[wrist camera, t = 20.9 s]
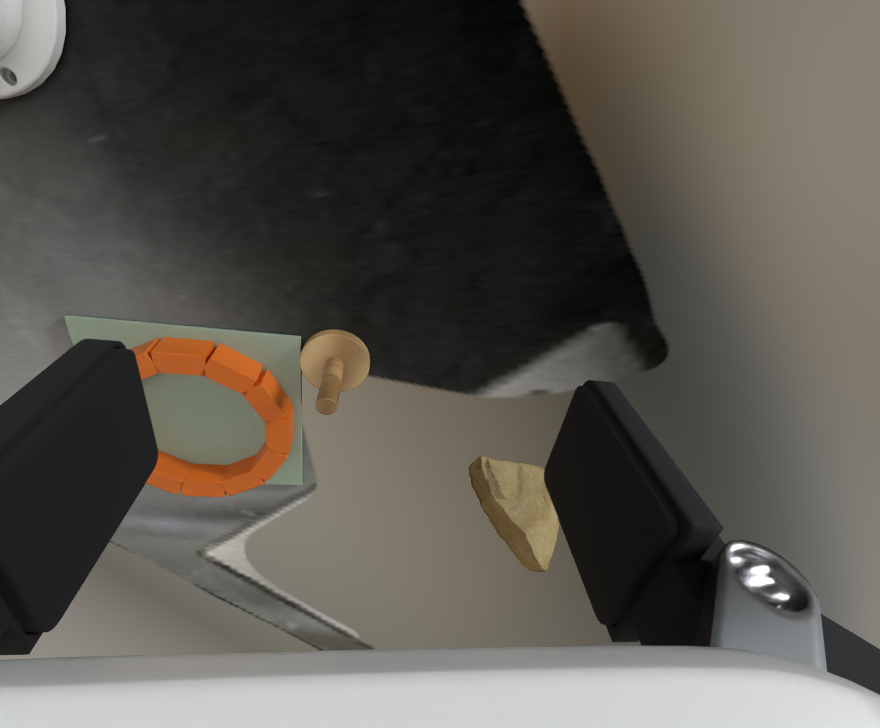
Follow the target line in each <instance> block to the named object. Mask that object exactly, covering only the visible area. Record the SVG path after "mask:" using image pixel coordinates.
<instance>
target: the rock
mask: <svg viewBox="0 0 880 728" xmlns="http://www.w3.org/2000/svg"><path fill="white" fill-rule="evenodd" d="M544 471H545V469H543V467H540V466H534V465H531V464H524V463H515V462H511V461H497V460H494V459H493V458H489V457H487V456H480V457H478V459H477V460H475V461H474V462H473V463H472V464H471V465H470V466H469V474H470V477H471V484H472V487H473V488H474V490H475V492H476V494H477V497H478V498H479V500H480V504H481V506H482V508H483V510H484V512H485V513H486V514H487V516H488V517H489V519H490V522H491V523H492V524H493V526H494V527H495V529H496V531H497V533H498V534H499V536H500V537H501V538H502V539H503V540H505V542H506V543H507V545H508V546H509V547H510V549H511V550H512V552H513V553H514V554H515V556H516V557H517V558H518V559H519V560H520V562H521V564H522V565H523V566H525V567H526V568H527V569H529V570H531V571H536V572H538V571H539V572H545V571H546V570H547V569H548V566H549V561H550V558H551V556H552V554H553V549H554V546H555V544H556V539H557V532H558V528H559V519H558V516H557V514H556V511H555V509H554V506H553V503H552V501H551V498H550V496H549V493H548V491H547V488H546V485H545V482H544Z"/></svg>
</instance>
